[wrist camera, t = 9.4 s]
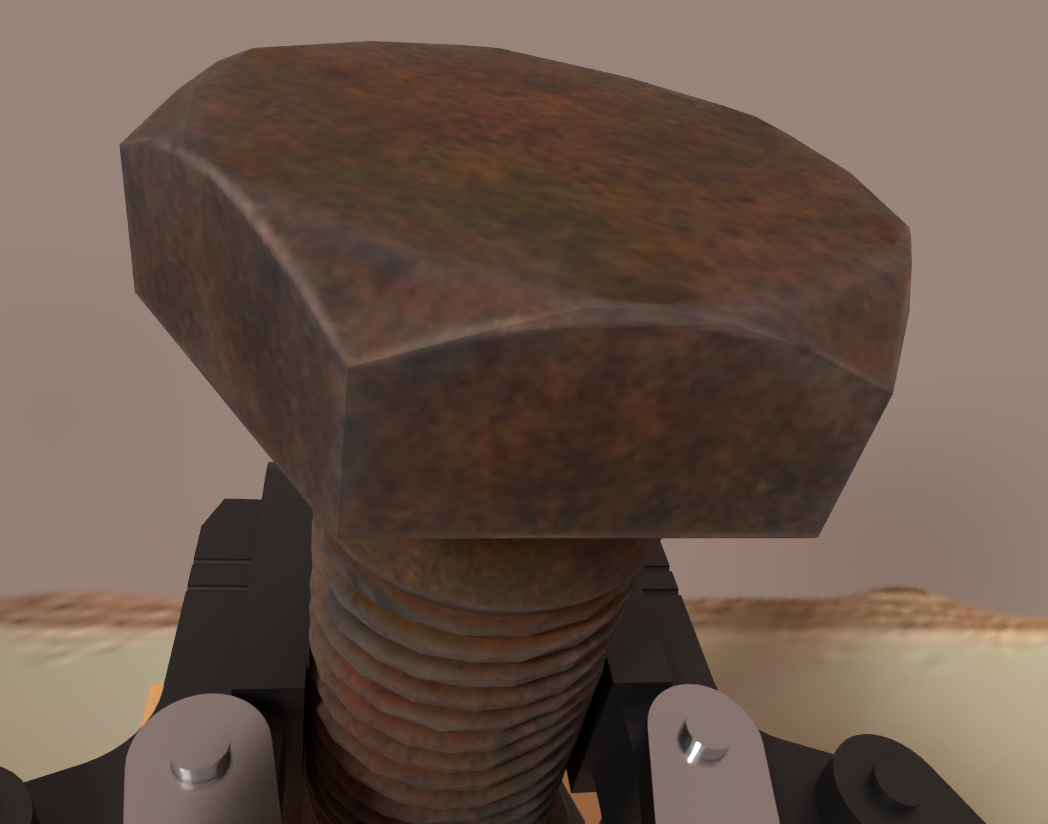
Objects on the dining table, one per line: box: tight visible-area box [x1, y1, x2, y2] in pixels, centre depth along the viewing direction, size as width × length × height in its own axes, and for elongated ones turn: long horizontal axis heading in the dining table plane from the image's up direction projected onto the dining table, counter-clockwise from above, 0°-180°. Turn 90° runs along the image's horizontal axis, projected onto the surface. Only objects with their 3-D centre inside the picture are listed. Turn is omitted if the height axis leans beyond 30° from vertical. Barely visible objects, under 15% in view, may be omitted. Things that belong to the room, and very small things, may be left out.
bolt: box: [120, 41, 912, 824], centre depth 10 cm, size 6×5×15 cm
